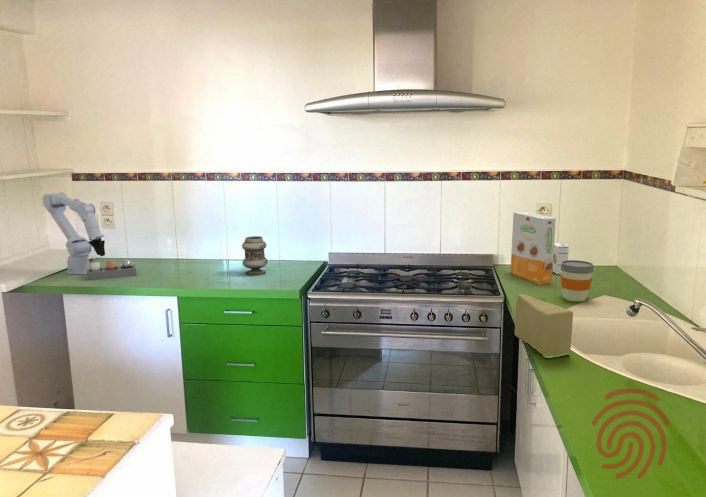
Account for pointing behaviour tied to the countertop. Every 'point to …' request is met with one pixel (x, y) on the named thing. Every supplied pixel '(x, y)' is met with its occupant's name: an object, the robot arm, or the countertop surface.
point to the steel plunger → (126, 264)
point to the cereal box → (533, 246)
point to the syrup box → (559, 256)
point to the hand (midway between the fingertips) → (101, 255)
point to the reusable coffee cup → (576, 279)
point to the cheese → (543, 325)
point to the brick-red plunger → (111, 265)
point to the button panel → (111, 273)
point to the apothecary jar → (254, 255)
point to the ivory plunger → (95, 266)
